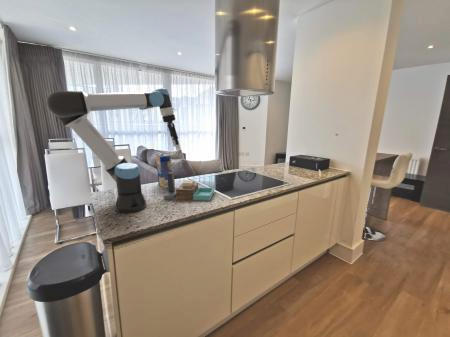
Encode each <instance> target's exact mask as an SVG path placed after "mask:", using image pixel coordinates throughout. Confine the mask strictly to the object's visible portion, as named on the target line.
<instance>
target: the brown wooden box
mask: <svg viewBox="0 0 450 337" xmlns="http://www.w3.org/2000/svg"><path fill="white" fill-rule="evenodd" d="M176 188H177V189H176V196H177V197H176V200H193V195H194V193H195V192H196V191H197V189H198V188H199V183H198V182H194V186H193V187H192V188H182V184H180V186H178V187H176ZM193 201H194V200H193Z"/></svg>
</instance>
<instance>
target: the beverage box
mask: <svg viewBox="0 0 450 337" xmlns="http://www.w3.org/2000/svg"><path fill="white" fill-rule="evenodd" d="M155 157H156V168H157V170H156V171H157V181H158V185H159V186H160V187H161V188H163V189H165V188H168V175H167V173H169V172H172V159H171V155H168V154H167V153H166V154H156V156H155Z"/></svg>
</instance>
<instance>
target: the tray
mask: <svg viewBox="0 0 450 337" xmlns="http://www.w3.org/2000/svg"><path fill="white" fill-rule="evenodd" d="M214 193H215V188H214V187H198V189H197V191H196V192H195V193H194V195H193V201H211V200H212V198H213V196H214Z"/></svg>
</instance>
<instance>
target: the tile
mask: <svg viewBox="0 0 450 337" xmlns="http://www.w3.org/2000/svg"><path fill="white" fill-rule="evenodd" d="M194 183H195V180H192V179H191V180H190V179H189V180H187V179H186V180H184V181H183V182H182V183H181V185H182V188H192V187H193V186H194Z"/></svg>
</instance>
